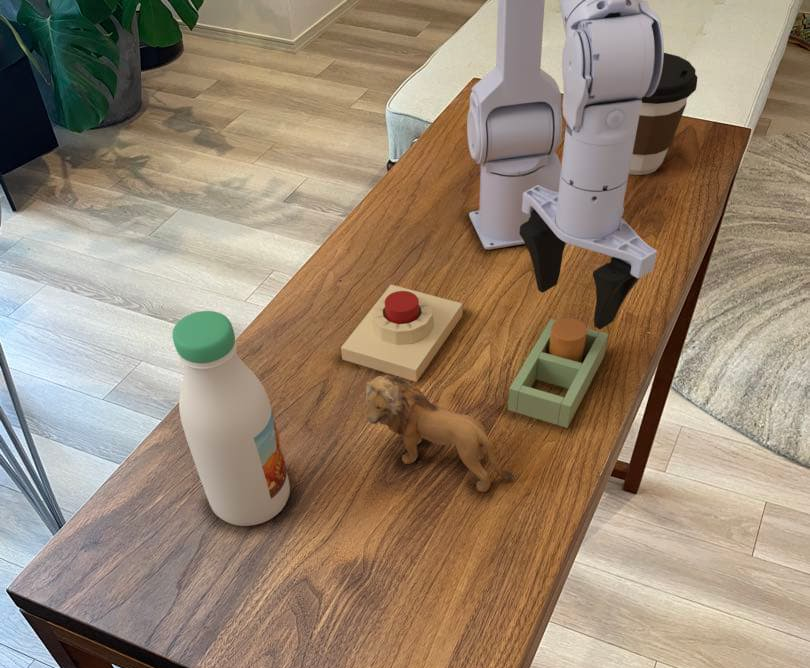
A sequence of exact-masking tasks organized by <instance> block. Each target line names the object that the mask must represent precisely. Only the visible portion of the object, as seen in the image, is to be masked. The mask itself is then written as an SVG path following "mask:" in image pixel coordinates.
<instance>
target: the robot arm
mask: <svg viewBox="0 0 810 668" xmlns="http://www.w3.org/2000/svg"><path fill="white" fill-rule="evenodd" d="M545 3H546V1H545V0H497V17H496V18H497V20H496V21H497V23H496V59H495V60H496V61H495V67H494V68H493V69H491V71H490V72H488V73H487V74H486V75H485V76H484V77H483V78H481V79H480V80H479V81H477V82H476V83H475V84H474V85H473V86H472V88H471V93H470V96H469V108H468V109H469V110H468V112H467V117H466V119H467V121H466V132H467V134H466V135H467V144H468V149H469V154H470V156H471V159H472V160H473V161H474V162H475V163H476V164H477V165H480V178H479V179H480V180H479V181H480V182H479V207H478V208H479V209H478V210H475V211H470V212H469V214H468V217H469V219H470V221H471V223H472V225H473V227H474V230H475V231H476V234H477V236H478V238H479V241H480V242H481V244H482V247H483V248H484V249H485V250H487V251H490V250H494V249H501V248H507V247H514V246H519V245H520V246H521V245H525V247H526V249H527V250H528V254H529V256H530V260H531V262H532V267H533V271H534V277H535V282H536V288H537V290H538V292H540V293H541V294H543V293H545V292H547V291H549V290H550V289H553V288H554V287H555V286H556V285H557V284H558V282H559V278H560V275H561V268H562V263H563V262H562V261H563V256H564V251H565V247H566V244H567V245H571V246H574V247H577V248H581V249H584V250H588V251H591V252H595V253H598V254H601V255H605V256H608V257H610V262H607V263H605V264H603V265H601V266H600V267H598V268H597V269H595V270H594V271H593V272H592V278H593V280H594V284H595V285H594V286H595V293H596V294H595V295H596V296H595V297H596V298H595V299H596V301H595V309H594V316H593V326H594V328H596V329H598V330H602V329H603V328H605V327H607V326H609V325H610V324H611V323H613V322H614V321H615V318H616V316H617V314H618V312H619V310H620V308H621V306H622V304H623V302H624V301H625V299H626V297H627V296H628V294H629V293H630V291H631V290H632V289H633V288H634V286H635V285H636V284H637V282H638V281H639V280H640V279H641V278H642V277H644V276H646V275H647V274H649V273H651V272H652V271H653V270H654V268H655V263H656V260H657V255H658V250H657V249H655V248H653V247H651V245H649V244H647V242H645V241H644V240H643V239H642V238H641V237H640V236H639V234H638V233H637V232H636V231H635V230H634V229H633V228H632V227H631V225H630V224H628V223H627V221H626V220H625V219H624V218H623V217H622V216H623V215H624V212H625V206H624V203H625V197H626V192H627V187H628V186H627V185H628V181H629V175H630V174H629V170H630V165H631V159H632V154H633V148H634V143H635V137H636V132H637V126H638V121H639V115H640V110H641V104H642V100H641V98H642V97H644V96H646V97H649V96H651V95H652V94H653V93H654V92H655V90H656V89H657V86H658V84H659V81H660V77H661V73H662V67H663V58H664V53H665V46H664V45H665V44H664V34H663V30H662V23H661V20H660V19H661V18H660V16H659V15H658V14H657V12H656V11H654V10H653V9H650V6H649V3H648V1H647V0H558V4H559V9H560V13H561V19H562V24H563V27H564V28H563V29H564V32H565V36H566V37H565V41H564V44H563V48H562V60H561V62H562V63H561V68H562V69H561V70H562V71H561V72H562V81H563V82H562V83H563V86H562V87H563V96H562V92H561V90H560V87H559V85H558V83H557V81H556V80H555V78H554V77H552V75H550V73H548V72H546V71H544V70H543V69H542V68H541V66H542V65H541V64H542V52H543V51H542V50H543V49H542V48H543V33H544V20H545V19H544V17H545ZM563 118H564V120H565V122H566V123H565V133H564V139H563V149H562V158H561V160H560V158H559V156H558V154H557V153H556V152H557V150H558V149H559V147H560V145H561V142H562V137H563V136H562V135H563Z"/></svg>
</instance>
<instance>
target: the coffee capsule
mask: <svg viewBox="0 0 810 668" xmlns="http://www.w3.org/2000/svg"><path fill="white" fill-rule="evenodd" d="M556 320H557V321H556V322H554V324H553V325H552V328H551V336H550V344H549V352H548V354H551V355H554V356H558V357H562V358H565V359H569V360H572V361H576V362H580V363H582V364H583V361H584V360H583V359H584V357H583V354H584V348H585V342H586V336H587V329H588V327H587V325H586V323H584V322H583V321H582V320H580V319H578V318H574V317H562V318H559V319H556Z"/></svg>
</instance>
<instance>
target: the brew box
mask: <svg viewBox="0 0 810 668" xmlns="http://www.w3.org/2000/svg"><path fill="white" fill-rule="evenodd" d="M397 291H408V292H411V293H413V294H415V295H416V296H417V297H418V300H419V316H418V318H417V319H416V320H415V321H413V322H411V323H408V324H396V323H392V322H389V321H388V320H387V318H386V313H385V299H386V297H387V296H388V295H390V294H391V293H394V292H397ZM463 306H464V305H463V303H462V302H459V301H455V300H451V299H447V298H444V297H441V296H437V295H432V294H429V293H426V292H420V291H418V290H413V289H410V288H406V287H402V286H398V285H394V284H390V285H388V288H386V290H385V291H384V292H383V294H381V296H380V297H379V299H378V300H377V301H376V302H375V304H374V305H373V306H372V307H371V308H370V310H369V311H368V312H367V314H366V315H365V316H364V318H363V319H362V320H361V321H360V322H359V324H358V325H357V326H356V328H355V329H354V330H353V332H352V333H351V334H350V335H349V336H348V338H347V339H346V340H345V341H344V343H343V344H342V345H341V347H340V351H341V352H340V353H341V359H342V360H343V361H346V362H349V363H353V364H356V365H359V366H362V367H365V368H369V369H373V370H375V371H379V372H383V373H386V374H389V375H391V376H394V377H399V378H401V379H402V378H403V379H406V380H409V381H412V382H415V383H417V382H418V381H419V379H420V378H421V377H422V375H423V374H424V372H425V371H426V369H427V368H428V366H429V365H430V363H431V362H432V360H433V359H434V358H435V356H436V355H437V353H438V352H439V350H440V349H441V347H442V346H443V344H444V343H445V342H446V340H447V339H448V337H449V336H450V334H451V333H452V332H453V330H454V328H455V327H456V326H457V324H458V323H459V321H460V320H461V319H462V318H463Z"/></svg>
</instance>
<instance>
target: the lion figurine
mask: <svg viewBox="0 0 810 668" xmlns="http://www.w3.org/2000/svg"><path fill="white" fill-rule="evenodd" d="M365 384H366V390H365V391H366V392H365V404H367V407H366V408H365V409H364V411H363V416H364V418H366V419H368V422H369V424H371V425H376V424H377V423H379V424H381V425H386V426H387V427H388V429H389V431H390V432H392V433H396V434H397V435H401V436H402V440H403V444H404V447H405V449H406V451H407V452H405V453H404V454H402V455H401V461H402V463H404V465H409V464H412V463H414V462H416V460H417V458H418V456H419V453H418V450H417V447H418V445H419V444H421V442H422V441H423V439H424V440H426V441H428V442H431V443H432V444H437V445H441V446H451V445H454V446H455V447H456V450H457V454H458V456H459V458H460V459H461V461H462V463H463V465H464V466H465V467H466V468H468V470H469V471H471V472H472V473H473V474H474V475H475V476H476V477H477V478H478V479H479V480H478V481H476V482H475V488H476V490H477V492H480V493H486V492H487V491H489V489H490V487H491V483H492V481H491V478H490V473H489V472H488V471H487V469H485V468H484V467H483V465H482V463H481V461H480V460H482V459H483V458H484V455H483V452H482V448H483V447H484V449H485V452H486V454H487V455H486V456H487V458H488V461H489V463H490V465H491V468H492V469H493V470H494V472H495V473H496V474H497V475H498V476H500V477H501V478H503V479H504V480H506V481H507V480H513V479H514V477H515V475H514V473H512V472H509V471H506V470H503V469H501V468H500V467H499V465H498V463H497V459H496V457H495V453H494V450H493V447H492V444H491V442H490V440H489V438H488V436H487V430H486V428H485V426H484V425H483V423H481V422H480V421H479V420H478V419H477V418H476V417H474V416H472V415H469V414H464V413H458V412H455V411H451V410H449V409H447V408H444V407H443V406H439V405H436V404H434V403H432V402H430V401H429V399H428V397H426V395H425V394H423V392H422V391H421V390H420V389H419V388H418V387H416V386H415V385H414V384H411V383H409V381H405V380H403V379H402V378H398V376H393V375H387V374H385V375H377V376H376V377H374V378H373V379H371V380H370V381H366V382H365Z"/></svg>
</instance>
